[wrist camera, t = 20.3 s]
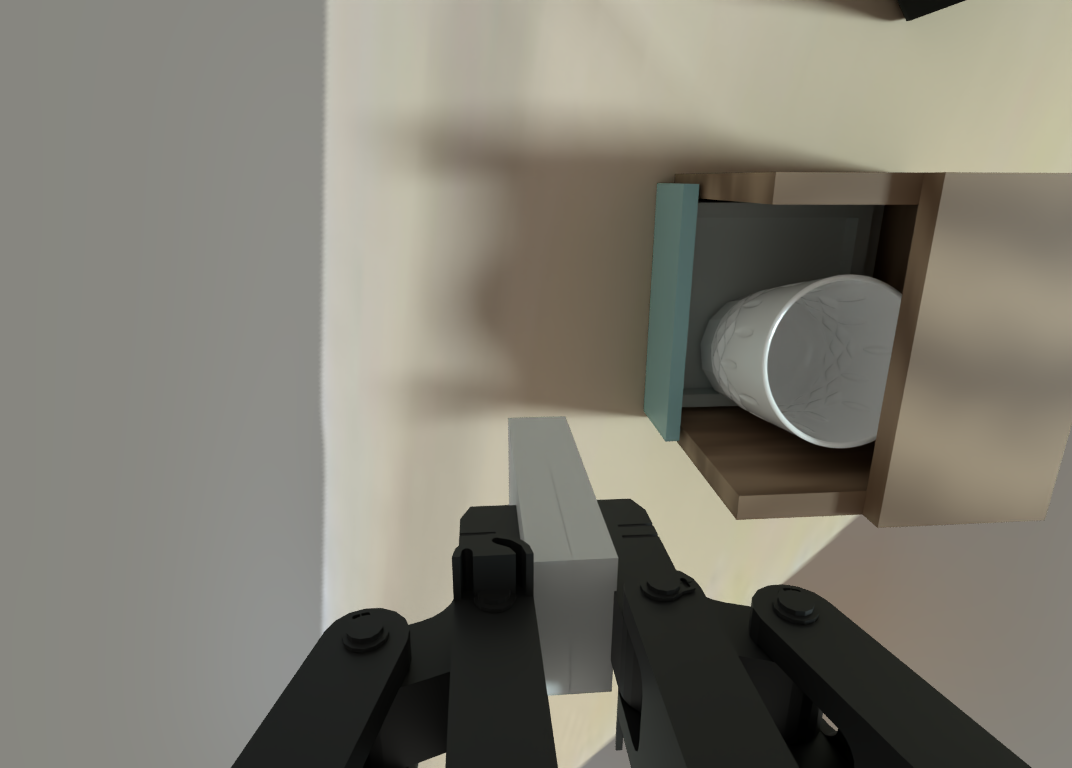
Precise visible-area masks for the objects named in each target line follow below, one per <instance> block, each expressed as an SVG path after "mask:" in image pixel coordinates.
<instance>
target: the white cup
mask: <svg viewBox="0 0 1072 768" xmlns="http://www.w3.org/2000/svg"><path fill="white" fill-rule="evenodd" d="M901 298H902V294H901V293H900V292H899V291H898V290H896V289H895V288H894V287H892V286H890V285H889V284H887V283H885V282H883V281H881V280H878V279H875V278H872V277H869V276H864V275H855V274H846V275H837V276H831V277H826V278H821V279H816V280H810V281H804V282H799V283H793V284H788V285H783V286H780V287H775V288H771V289H766V290H762V291H759V292H756V293H752V294H749V295H746V296H743V297H740V298H737V299H734V300H731V301H729V302H727V303H726V304H725V305H724V306H723V307H722V308H721V309H720V310H719V311H718V312H717V313H716V314H715V315H714V316H713V317H712V318H711V319H710V320H709V321H708V324H707V327H706V329H705V332H704V335H703V337H702V340H701V343H700V349H701V363H702V370H703V371H704V373H705V375H706V377H707V378H708V380H709V382H710V383H711V385H712V387H713V389H714V390H715V391H717V392H718V393H720V394H721V395H723V396H724V397H726V398H727V399H729V400H730V401H732V402H734V403H735V404H737V405H738V406H739V407H741V408H743V409H744V410H746V411H748V412H750V413H752V414H753V415H755V416H757V417H759V418H761V419H763V420H765V421H767V422H769V423H771V424H773V425H775V426H777V427H779V428H781V429H784V430H786V431H788V432H790V433H792V434H794V435H796V436H798V437H800V438H802V439H804V440H806V441H808V442H810V443H813V444H816V445H819V446H823V447H829V448H851V447H857V446H861V445H864V444H867V443H870V442H873V441H875V440H876V436H877V431H878V425H879V420H880V414H881V409H882V403H883V397H884V392H885V386H886V381H887V375H888V370H889V364H890V359H891V353H892V348H893V342H894V337H895V331H896V326H897V320H898V315H899V309H900V304H901Z"/></svg>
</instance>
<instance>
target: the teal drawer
mask: <svg viewBox="0 0 1072 768" xmlns="http://www.w3.org/2000/svg"><path fill="white" fill-rule="evenodd" d="M698 196H699V184H678V183H657V194H656V211H655V228H654V245H653V262H652V278H651V295H650V312H649V329H648V346H647V363H646V379H645V396H644V412H645V414H646V415H647V416H648V418H649V419H650V421H651V422H652V423H653V425H654V426H655V428H656V429H657V430H658V432H659V433H660V435H661V436H662V437H663V439H664V440H665V441H679V437H680V424H681V412H682V407H714V406H738V405H737V404H735V403H734V402H732V401H730V400H729V399H727V398H726V397H724V396H723V395H721V394H720V393H718V392H717V391H715V390H714V389H713V387H712V385H711V383H710V382H709V380H708V378H707V377H706V375H705V373H704V371H703V370H702V363H701V349H700V343H701V340H702V337H703V335H704V332H705V329H706V327H707V324H708V321H709V320H710V319H711V318H712V317H713V316H714V315H715V314H716V313H717V312H718V311H719V310H720V309H721V308H722V307H723V306H724V305H725V304H726V303H727V302H729V301H731V300H734V299H737V298H740V297H743V296H746V295H749V294H752V293H756V292H759V291H762V290H766V289H771V288H775V287H780V286H783V285H788V284H793V283H799V282H804V281H810V280H816V279H821V278H826V277H831V276H837V275H846V274H855V275H864V276H869V277H872V278H873V272H874V266H875V260H876V254H877V248H878V242H879V236H880V230H881V224H882V218H883V212H884V206H885V205H772V204H760V203H749V202H737V201H698Z"/></svg>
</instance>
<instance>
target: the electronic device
mask: <svg viewBox="0 0 1072 768" xmlns="http://www.w3.org/2000/svg"><path fill="white" fill-rule="evenodd" d="M897 1H898V3H899V5H900V8H901V10H902V12H903V14H904V17H905V19H906V21H910V20H913V19H916V18H919V17H921V16H924V15H927V14H929V13H932V12H935V11H938V10H940V9H943V8H946V7H949V6H951V5H954V4H957V3H960V2H962V1H965V0H897Z"/></svg>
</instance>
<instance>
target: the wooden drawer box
mask: <svg viewBox="0 0 1072 768" xmlns="http://www.w3.org/2000/svg"><path fill="white" fill-rule="evenodd" d="M675 183H678V184H699V196H698V198H703V199H714V200H726V201H737V202H749V203H760V204H772V205H885V206H884V212H883V218H882V224H881V230H880V236H879V242H878V248H877V254H876V260H875V266H874V272H873V278H875V279H878V280H881V281H883V282H885V283H887V284H889V285H890V286H892V287H894V288H895V289H896V290H898V291H899V292H900V293H901V294H902V298H901V304H900V309H899V315H898V320H897V326H896V331H895V337H894V342H893V348H892V353H891V359H890V364H889V370H888V375H887V381H886V386H885V392H884V397H883V403H882V409H881V414H880V420H879V425H878V431H877V436H876V440H875V441H873V442H870V443H867V444H864V445H861V446H857V447H851V448H829V447H823V446H819V445H816V444H813V443H810V442H808V441H806V440H804V439H802V438H800V437H798V436H796V435H794V434H792V433H790V432H788V431H786V430H784V429H781V428H779V427H777V426H775V425H773V424H771V423H769V422H767V421H765V420H763V419H761V418H759V417H757V416H755V415H753V414H752V413H750V412H748V411H746V410H744V409H743V408H741V407H739V406H714V407H682V412H681V424H680V437H679V441H677V442H678V444H679V445H680V446H681V448H682V449H683V450H684V451H685V453H686V454H687V455H688V457H689V458H690V459H691V461H692V462H693V463H694V465H695V466H696V467H697V469H698V470H699V471H700V472H701V474H702V475H703V476H704V478H705V479H706V480H707V482H708V483H709V484H710V486H711V487H712V488H713V490H714V491H715V492H716V493H717V495H718V496H719V497H720V499H721V500H722V501H723V503H724V504H725V505H726V507H727V508H728V509H729V510H730V512H731V513H732V514H733V516H734V517H735V518H736V520H744V519H767V518H790V517H813V516H836V515H860V514H862V515H864V516H865V517H866V518H867V519H868V520H869V521H870V522H872V523H873V524H874V525H875V526H876V527H877V528H886V527H908V526H931V525H953V524H974V523H996V522H1019V521H1041V520H1045V517H1046V514H1047V510H1048V507H1049V503H1050V499H1051V496H1052V492H1053V489H1054V485H1055V482H1056V478H1057V475H1058V471H1059V467H1060V464H1061V460H1062V457H1063V453H1064V450H1065V446H1066V443H1067V439H1068V436H1069V432H1070V429H1071V425H1072V173H956V172H942V173H879V172H753V173H708V174H675Z"/></svg>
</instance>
